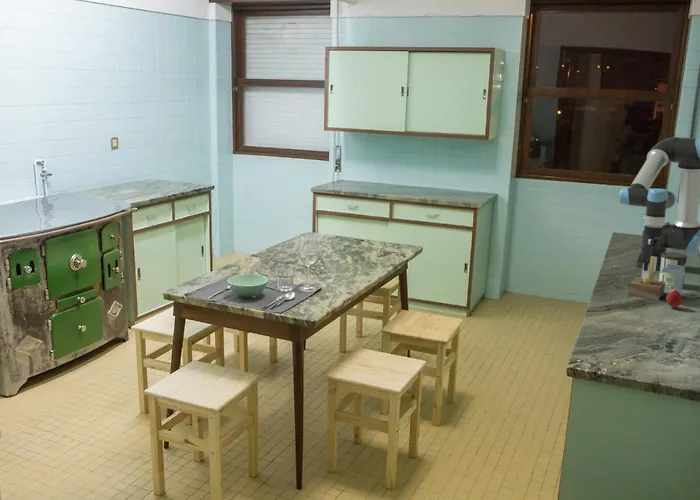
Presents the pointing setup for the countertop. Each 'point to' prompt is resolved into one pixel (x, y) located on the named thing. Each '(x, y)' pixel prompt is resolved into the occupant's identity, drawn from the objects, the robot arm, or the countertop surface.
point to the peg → (650, 273)
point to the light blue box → (678, 273)
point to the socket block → (646, 289)
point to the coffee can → (675, 260)
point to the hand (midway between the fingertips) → (648, 274)
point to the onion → (674, 298)
